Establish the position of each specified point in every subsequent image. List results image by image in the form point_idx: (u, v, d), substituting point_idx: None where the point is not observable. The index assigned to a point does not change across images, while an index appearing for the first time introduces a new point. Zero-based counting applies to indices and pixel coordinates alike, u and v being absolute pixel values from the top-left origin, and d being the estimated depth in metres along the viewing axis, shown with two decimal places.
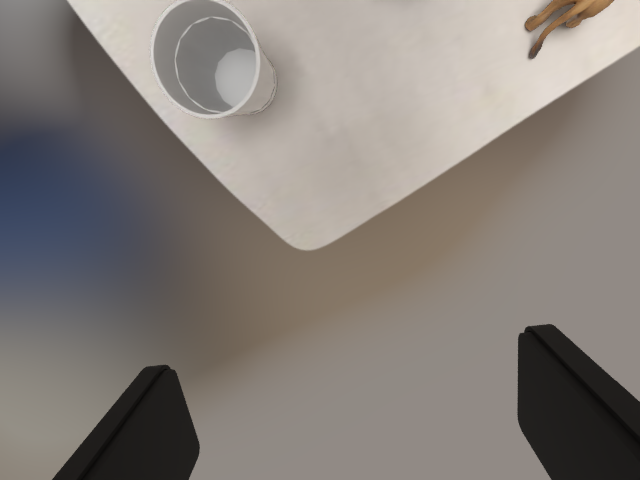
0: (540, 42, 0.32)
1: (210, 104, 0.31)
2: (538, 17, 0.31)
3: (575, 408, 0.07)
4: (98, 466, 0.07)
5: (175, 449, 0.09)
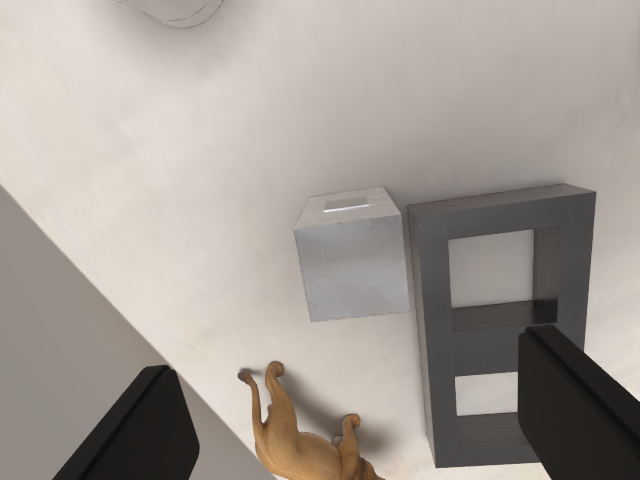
0: (249, 383, 0.27)
1: None
2: (270, 380, 0.26)
3: (575, 408, 0.07)
4: (98, 466, 0.07)
5: (175, 449, 0.09)
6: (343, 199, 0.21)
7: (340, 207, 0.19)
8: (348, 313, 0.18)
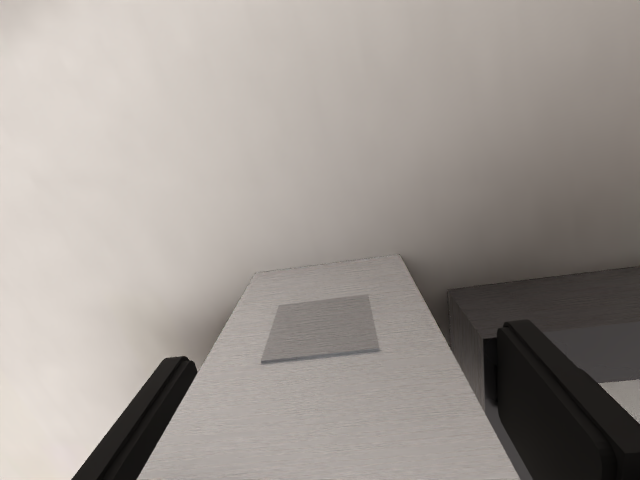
0: None
1: None
2: None
3: (544, 398, 0.07)
4: (127, 450, 0.07)
5: None
6: (317, 302, 0.09)
7: (304, 350, 0.07)
8: None
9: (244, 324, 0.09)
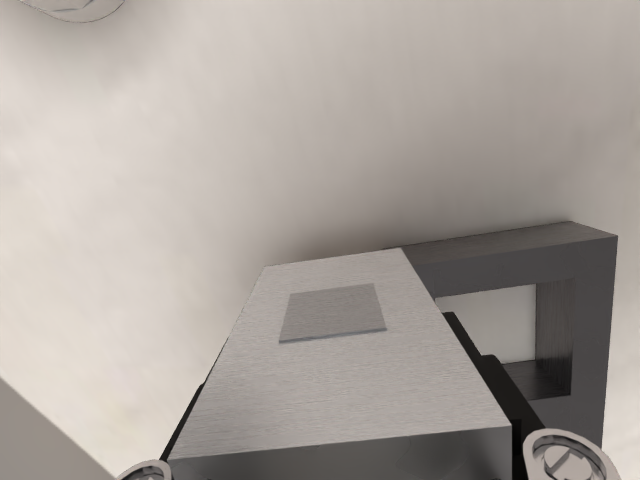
0: None
1: None
2: None
3: None
4: None
5: None
6: (326, 290, 0.10)
7: (318, 330, 0.08)
8: None
9: (259, 310, 0.09)
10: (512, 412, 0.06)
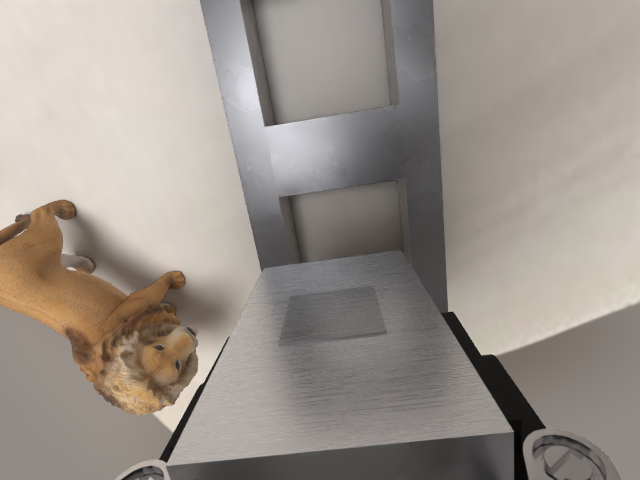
0: None
1: None
2: (37, 210, 0.20)
3: None
4: None
5: None
6: (326, 293, 0.10)
7: (318, 334, 0.08)
8: None
9: (259, 313, 0.09)
10: (512, 412, 0.06)
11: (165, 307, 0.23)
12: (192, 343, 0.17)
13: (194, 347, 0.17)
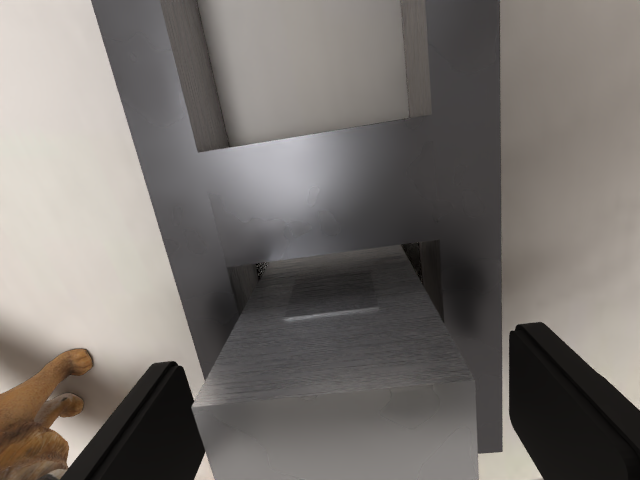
0: None
1: None
2: None
3: (562, 404, 0.07)
4: (110, 459, 0.07)
5: (183, 444, 0.09)
6: (327, 276, 0.11)
7: (318, 309, 0.09)
8: None
9: (267, 294, 0.11)
10: None
11: (64, 401, 0.16)
12: None
13: None
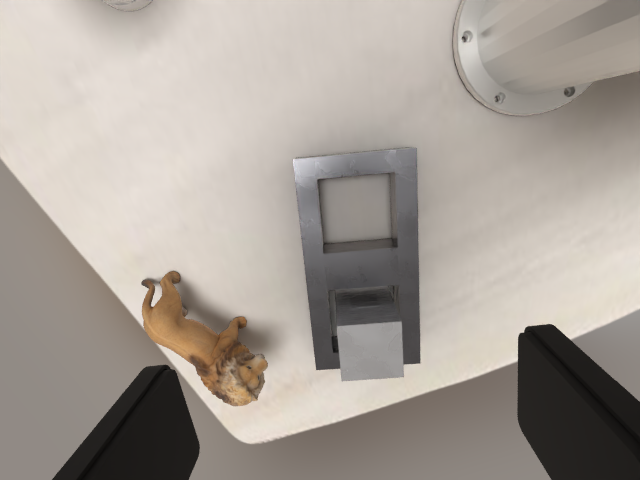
0: (148, 286, 0.33)
1: None
2: (164, 280, 0.33)
3: (575, 408, 0.07)
4: (98, 466, 0.07)
5: (175, 449, 0.09)
6: (361, 295, 0.32)
7: (361, 305, 0.30)
8: (366, 376, 0.28)
9: (341, 300, 0.31)
10: None
11: None
12: (266, 365, 0.30)
13: (266, 367, 0.30)
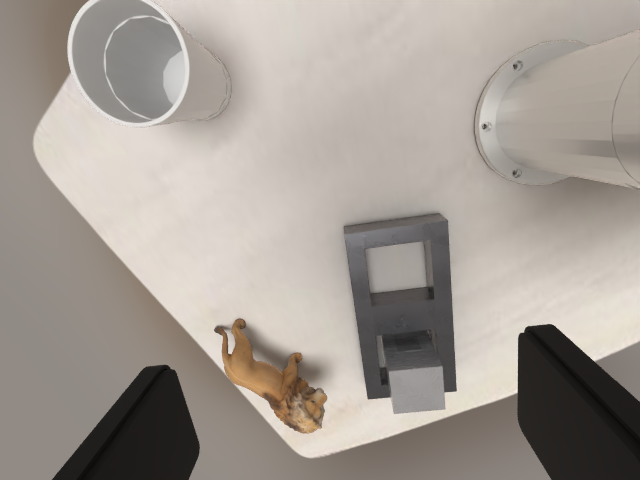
0: (221, 333, 0.40)
1: (130, 51, 0.27)
2: (234, 329, 0.39)
3: (575, 408, 0.07)
4: (98, 466, 0.07)
5: (175, 449, 0.09)
6: (404, 338, 0.38)
7: (406, 349, 0.36)
8: (413, 409, 0.34)
9: (388, 343, 0.37)
10: None
11: None
12: (326, 398, 0.36)
13: None
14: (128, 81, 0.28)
